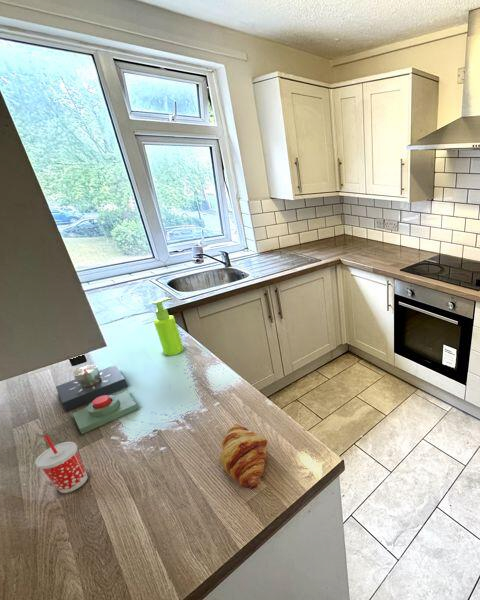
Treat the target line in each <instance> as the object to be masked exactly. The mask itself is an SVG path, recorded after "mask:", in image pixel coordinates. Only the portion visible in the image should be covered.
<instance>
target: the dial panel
mask: <svg viewBox="0 0 480 600" xmlns="http://www.w3.org/2000/svg"><path fill="white" fill-rule="evenodd" d="M98 371H99V373H100V375H101V377H102V380H101V381H100V382H99V383H97V384H96V385H93V386H90V387H86V388H81V387H79V385H78V383H77V381H76V379H75V378H74V379H73V380H70V381H67V382H64V383H61V384H59V385H56V386H55V389H56V391H57V393H58V396H59V399H60V401H61V403H62V405H63V407H64V409H65V411H66V412H68V411H71V410H74V409H76V408H78V407H80V406H84V405H86V404H89V403H92V401H93V400H94V399H96V398H98V397H100V396H103V395H108V396H109V395H111V394H113V393H115V392H118V391H120V390H122V389H125V388H128V387H129V386H128V383H127V380H126V378H125V376H124V375H123V374H122V373H121V371H120V370H119V368H118V367H117V366H116V364H113V365H111V366H109V367H106V368H102V369H100V370H98Z"/></svg>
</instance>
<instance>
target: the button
mask: <svg viewBox="0 0 480 600" xmlns="http://www.w3.org/2000/svg"><path fill="white" fill-rule="evenodd" d="M91 403H92V404H93V406H94V408H95V409H99V408H103V407H105V406H107V405H109V404H110V403H111V399H110V397H109V394H108V395H103V396H100V397H98V398H96V399H94V400H93V401H91Z"/></svg>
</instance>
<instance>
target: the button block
mask: <svg viewBox="0 0 480 600" xmlns="http://www.w3.org/2000/svg"><path fill="white" fill-rule="evenodd" d="M108 396H109V397H110V399H111V403H110V404H109V405H107V406H105V407H103V408H99V409H95V408H94V406H93V404H92V402H89V403H88V405H87V406H86V407H84V408H82V409H79V410H76V411H74V412H72V415H73V418H74V420H75V422H76V423H75V424H76V425H77V427H78V429H79V432H80V434H82V435H84V434H86V433H88V432H90V431H93V430H95V429H97V428H99V427H101V426H103V425H107V424H108V423H110V422H112V421H115V420H117V419H119V418H121V417H123V416H126V415H128V414H129V413H132V412H134V411H136V410H138V409H139V407H138V405H137V403H136V401H135V400H134V399H133V397H132V396H131V394H130V393H129V391H128V390H124V391H122V392H119V393H117V394H114V395H113V394H108Z"/></svg>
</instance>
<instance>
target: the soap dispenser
mask: <svg viewBox="0 0 480 600" xmlns="http://www.w3.org/2000/svg"><path fill="white" fill-rule="evenodd" d="M172 300H173V298H171V297H163V298H159V299H157V300H155V301H152V305H156V309H155V311H154V313H155V315H156V318H155V319H154V320H153V324H154V327H155V330H156V332H157V335H158V337H159V338H158V339H159V341H160V344H161V347H162V350H163V353H164V355H166V356H175V355H177V354H180V353H182V352H183V351H184V345H183V342H182V339H181V335H180V333H179V329H178V326H177V322H176V319H175V316H174V315H170V314H169V311H168V308H166V307H164V305H163V303H164V302H168V301H172Z"/></svg>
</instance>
